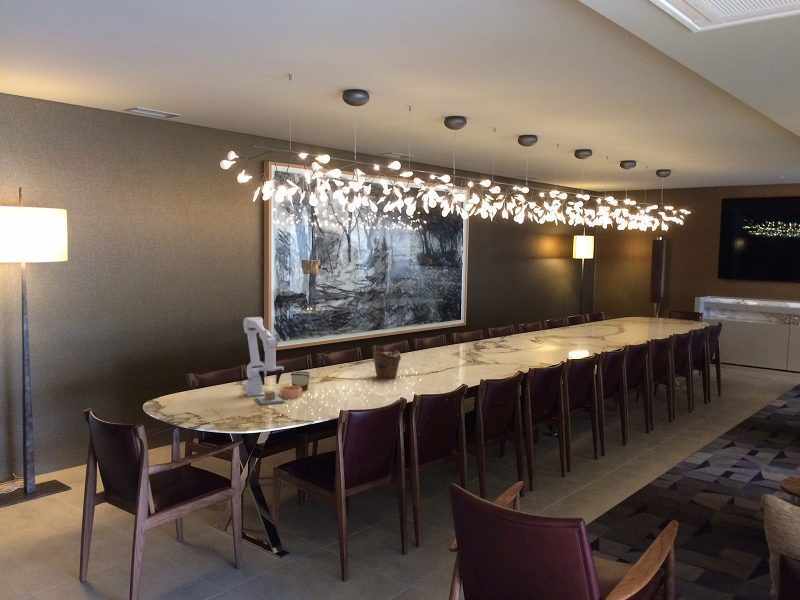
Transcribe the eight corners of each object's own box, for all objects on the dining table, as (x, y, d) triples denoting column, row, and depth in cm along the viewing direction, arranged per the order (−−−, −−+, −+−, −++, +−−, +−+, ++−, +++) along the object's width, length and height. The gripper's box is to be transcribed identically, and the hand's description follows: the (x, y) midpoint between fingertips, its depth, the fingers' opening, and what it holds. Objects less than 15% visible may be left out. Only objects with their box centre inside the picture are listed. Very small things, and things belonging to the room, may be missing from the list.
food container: (313, 388, 385) (313, 371, 384) (309, 390, 379) (309, 373, 378) (294, 386, 388) (294, 370, 387) (290, 388, 382) (290, 372, 381)
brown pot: (402, 374, 430) (402, 347, 428) (399, 380, 410) (399, 352, 409) (375, 373, 432) (375, 347, 430) (371, 380, 412) (371, 352, 410)
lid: (261, 404, 344) (261, 395, 344) (256, 399, 355) (256, 390, 354) (283, 402, 349) (283, 393, 349) (277, 397, 360) (277, 388, 359)
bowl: (283, 399, 357) (283, 391, 357) (278, 394, 368) (278, 386, 368) (303, 397, 362) (303, 389, 362) (297, 392, 373) (297, 385, 372)
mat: (260, 405, 343) (260, 404, 343) (254, 399, 355) (254, 398, 355) (285, 403, 349) (285, 402, 349) (279, 397, 361) (279, 396, 361)
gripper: (258, 361, 343) (258, 386, 344) (285, 359, 350) (285, 384, 351) (255, 359, 350) (255, 384, 351) (281, 357, 356) (281, 382, 357)
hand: (270, 384), depth 351 cm, fingers open, 7 cm apart
